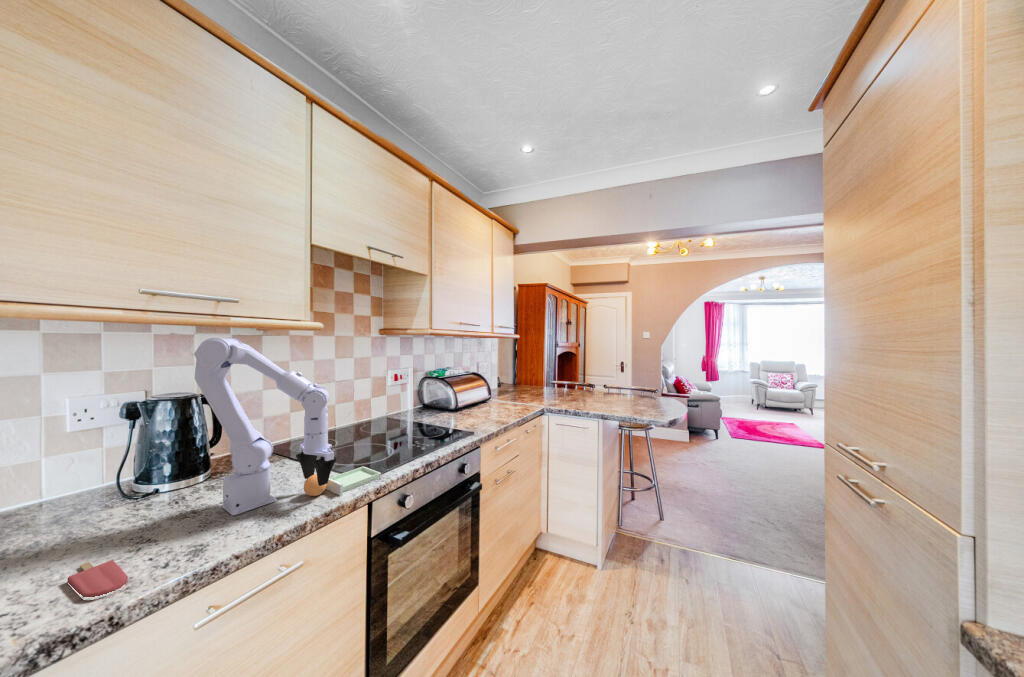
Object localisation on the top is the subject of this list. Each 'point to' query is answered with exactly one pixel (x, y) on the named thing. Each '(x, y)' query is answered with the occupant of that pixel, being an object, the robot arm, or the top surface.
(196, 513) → the top surface
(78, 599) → the top surface
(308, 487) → the ball
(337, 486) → the acrylic wall
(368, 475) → the tray
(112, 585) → the popsicle
